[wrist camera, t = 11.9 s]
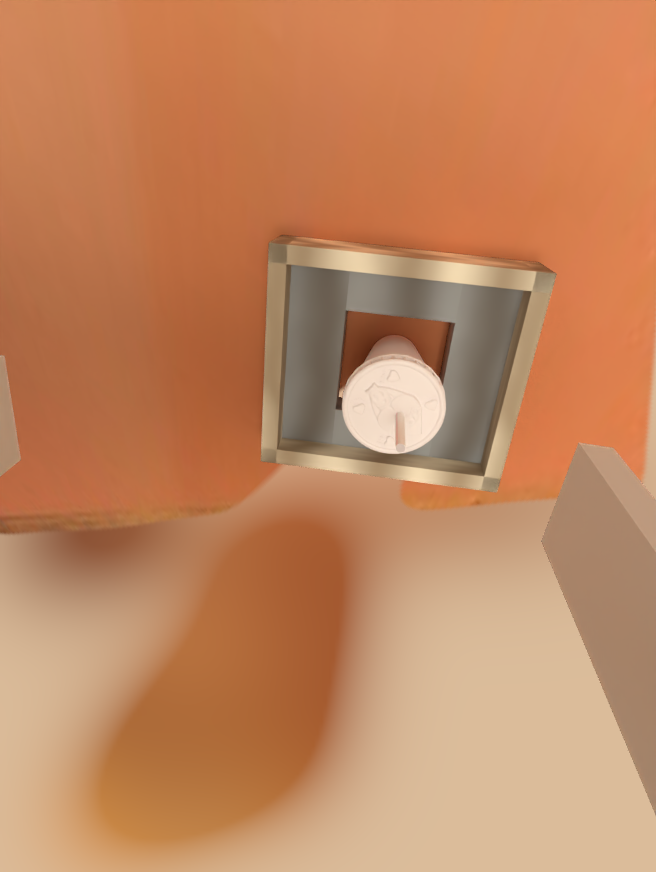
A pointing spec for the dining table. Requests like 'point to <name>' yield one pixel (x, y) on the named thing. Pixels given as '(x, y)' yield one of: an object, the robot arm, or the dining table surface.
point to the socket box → (406, 297)
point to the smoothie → (394, 398)
